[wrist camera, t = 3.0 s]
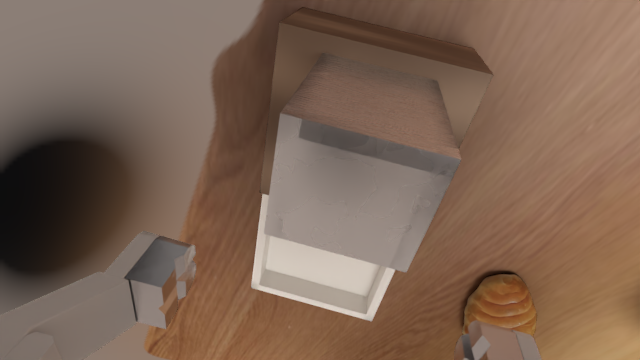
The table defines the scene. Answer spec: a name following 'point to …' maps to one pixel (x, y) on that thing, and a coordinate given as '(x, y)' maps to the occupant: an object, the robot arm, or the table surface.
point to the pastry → (502, 304)
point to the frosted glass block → (361, 162)
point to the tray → (317, 275)
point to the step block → (377, 49)
